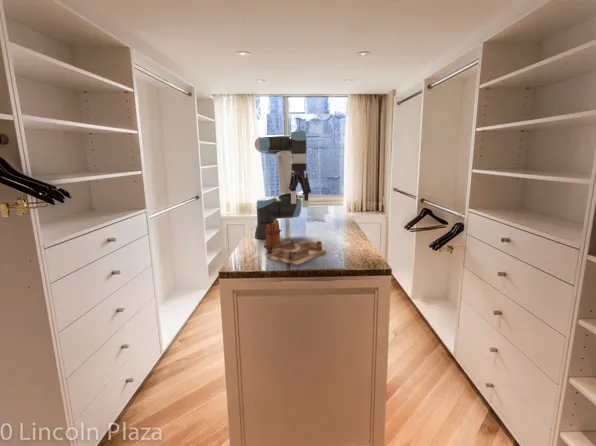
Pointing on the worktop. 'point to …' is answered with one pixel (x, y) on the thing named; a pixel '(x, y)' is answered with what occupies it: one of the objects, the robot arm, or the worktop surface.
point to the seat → (293, 253)
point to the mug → (272, 235)
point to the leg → (311, 245)
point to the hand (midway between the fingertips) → (299, 205)
